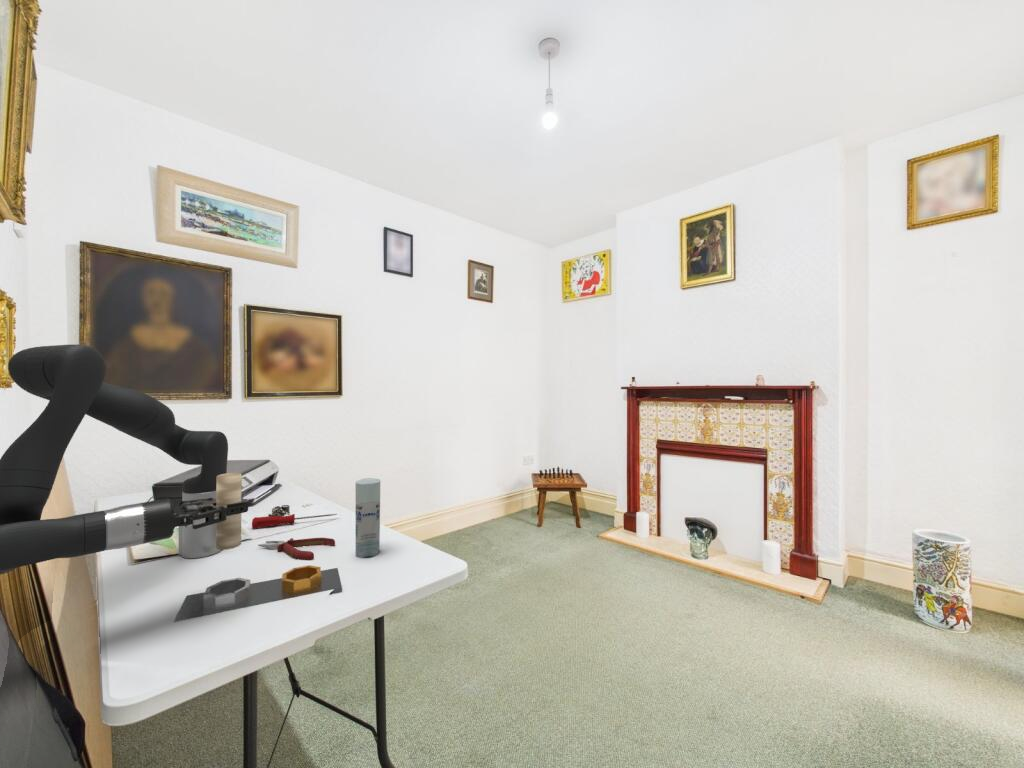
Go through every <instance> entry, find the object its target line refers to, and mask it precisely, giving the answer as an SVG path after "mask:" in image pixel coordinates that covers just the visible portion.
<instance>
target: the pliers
mask: <svg viewBox="0 0 1024 768" xmlns="http://www.w3.org/2000/svg"><path fill="white" fill-rule="evenodd" d="M257 546H258V547H261V548H265V549H269V550H275V549H276V551H277V552H276V553H278V552H280V553H282V552H283V553H284V554H286V553H287V554H286V555H288V556H289V557H290V558H292V559H294V558H295V560H298V559H299V560H300V561H313V560H314V559H315V554H314V552H313V551H310V550H300V549H297V548H304V547H303V546H306V547H312V546H313V547H314V546H327V547H334V546H336V540H335V539H334V538H330V537H312V538H301V539H299V538H298V539H294V538H289V539H288V540H287V541H284V540H267V541H265V543H259V544H257ZM294 547H296V548H294ZM299 560H298V561H299Z"/></svg>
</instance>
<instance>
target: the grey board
mask: <svg viewBox="0 0 1024 768" xmlns="http://www.w3.org/2000/svg"><path fill="white" fill-rule="evenodd" d="M281 575H282V577H281V578H274V579H270V580H264V581H260V582H259V581H257V582H253V583H251V579H248V578H244V577H243V578H242V577H236V578H230V579H224V580H221V581H218V582H216V583H214V584H212V585H210V586H207V587H206V588H205V591H204V592H199V593H194V594H190V595H189V594H188V595H186V596H185V598H184V600H183V602H182V604H181V606H180V608H179V610H178V612H177V614H176V617H175V618H174V620H173V623H176V622H181V621H186V620H190V619H195V618H196V619H197V618H200V617H201V618H202V617H205V616H211V615H215V614H219V613H225V612H229V611H231V612H232V611H235V610H240V609H243V608H244V609H245V608H249V607H254V606H255V607H256V606H259V605H264V604H269V603H273V602H274V603H275V602H279V601H284V600H290V599H292V598H298V597H303V596H308V595H312V594H317V593H321V592H328V591H330V593H329V595H333V594H337V593H342V592H343V586H342V582H341V577H340V573H339V568H338V567H335V568H330V569H325V570H324V569H323V570H322V569H321V566H316V565H304V566H298V567H293V568H292V569H289V570H288V571H286V572H284V573H282V574H281Z"/></svg>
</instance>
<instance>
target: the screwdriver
mask: <svg viewBox="0 0 1024 768" xmlns="http://www.w3.org/2000/svg"><path fill="white" fill-rule="evenodd" d="M295 515H296V514H294V513H293V514H290V515H284V516H283V515H282V516H279V515H269V516H259V517H256V516H255V517H253V519H252V522H251V526H252V527H251V528H252V529H254V528H256V529H260V528H259V527H262V528H269V527H268V526H271V527H275V525H276V526H279V525H282V524H291V523H294V524H295V520H302V519H304V520H305V519H314V518H320V517H321V518H323V517H331V516H336V515H338V514H337V513H334V514H333V513H331V514H330V513H329V514H320V515H312V516H311V515H310V516H302V517H301V516H300V517H295Z"/></svg>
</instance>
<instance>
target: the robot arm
mask: <svg viewBox="0 0 1024 768" xmlns="http://www.w3.org/2000/svg"><path fill="white" fill-rule="evenodd" d="M106 365H107V364H106V361H105V359H104V357H103V355H102V353H100V352H99V351H98V350H97V349H96V348H94V347H92V346H90V345H88V344H87V345H86V344H58V345H45V346H44V345H42V346H35V347H34V346H33V347H28V348H26V349H22V350H19V351H18V352H16V353H14V354H13V355H12V356H11V358H10V359H9V361H8V362H7V367H8V368H7V369H8V373H9V376H10V377H11V379H12V381H13V382H14V383H15V384H16V385H17V386H18V387H20V389H22V390H23V391H25V392H26V393H28V394H30V395H33V396H36V397H38V398H40V399H43V400H47V401H48V403H47V405H46V406H45V407H44V410H43V411H42V412H41V413H40V415H39V416H38V417H37V418H36V419H35V420H34V421H33V422H32V423H31V425H29V426H28V427H27V428H26V429H25V430H24V431H23V432H22V433H21V434H20V435H19V436H18V437H17V438H16V439H15V440H13V442H12V443H11V444H10V445H9V446H8V448H7V449H6V450H5V451H4V452H3V454H2V455H1V457H0V575H4V574H6V573H9V572H11V571H14V570H16V569H17V568H21V567H25V566H30V565H35V564H38V563H43V562H46V561H51V560H55V559H70V558H77V557H83V556H87V555H91V554H96V553H101V552H104V551H110V550H120V549H125V548H130V547H134V546H140V545H144V544H148V543H154V542H157V541H162V540H168V539H169V538H171V537H172V536H173V535H174V533H175V531H174V530H175V528H177V527H178V556H182V558H184V559H197V558H198V559H200V558H204V557H208V556H209V557H210V556H212V555H215V554H217V553H220V552H221V551H222V550H218V549H216V523H218V522H222V521H225V520H226V518H227V516H230V515H235V514H240V513H241V514H243V513H248V511H249V502H248V501H246V500H245V501H241V502H238V503H233V504H227V505H219V506H216V484H217V476H218V475H221V474H227V470H228V455H229V454H228V453H229V442H228V441H229V440H228V439H227V436H226V434H225V433H224V432H221V431H215V430H190V429H186V428H185V427H181V426H180V425H177V424H176V418H175V417H176V416H175V414H174V412H173V411H172V410H171V408H170V407H169V406H168V405H166V404H164V403H163V402H161V401H160V400H158V399H157V398H155V397H153V396H151V395H149V394H147V393H145V392H142V391H140V390H139V391H138V390H136V389H131V388H127V387H124V386H120V385H116V384H111V383H108V382H104V380H105V378H106V373H107V366H106ZM86 415H87V416H89V417H90V418H93V419H95V420H96V421H100V422H101V423H104V424H106V425H108V426H110V427H112V428H114V429H115V430H118V431H119V432H122V433H124V434H126V435H128V436H130V437H132V438H134V439H136V440H139V441H142V442H143V443H146V444H147V445H150V446H153V447H155V448H158V449H159V450H161V451H163V452H164V453H165V454H167V455H168V456H169V457H172V459H174V460H175V461H177V462H179V463H181V464H183V465H188V466H201V468H200V469H201V470H200V473H199V474H198V475H195V476H192V477H190V478H187V479H185V480H184V481H183V482H182V489H181V490H182V491H181V492H182V493H181V494H182V495H181V496H182V497H181V498H182V500H181V501H179V502H178V505H176V506H174V504H173V502H172V499H170V498H163V499H157V500H150V501H144V502H139V503H138V502H137V503H131V504H127V505H120V506H117V507H112V508H110V509H105V510H99V511H92V512H87V513H81V514H75V515H71V516H65V517H60V518H59V517H58V518H49V519H48V518H46V519H41V518H42V513H43V511H44V508H45V506H46V504H47V502H48V500H49V497H50V496H51V492H52V490H53V487H54V484H55V481H56V478H57V475H58V473H59V472H58V471H59V469H60V466H61V462H62V461H63V458H64V455H65V453H66V450H67V448H68V446H69V444H70V443H71V440H72V439H73V437H74V435H75V433H76V431H77V430H78V428H79V426H80V424H81V423H82V421H83V419H84V417H86ZM216 513H219V515H216Z"/></svg>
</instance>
